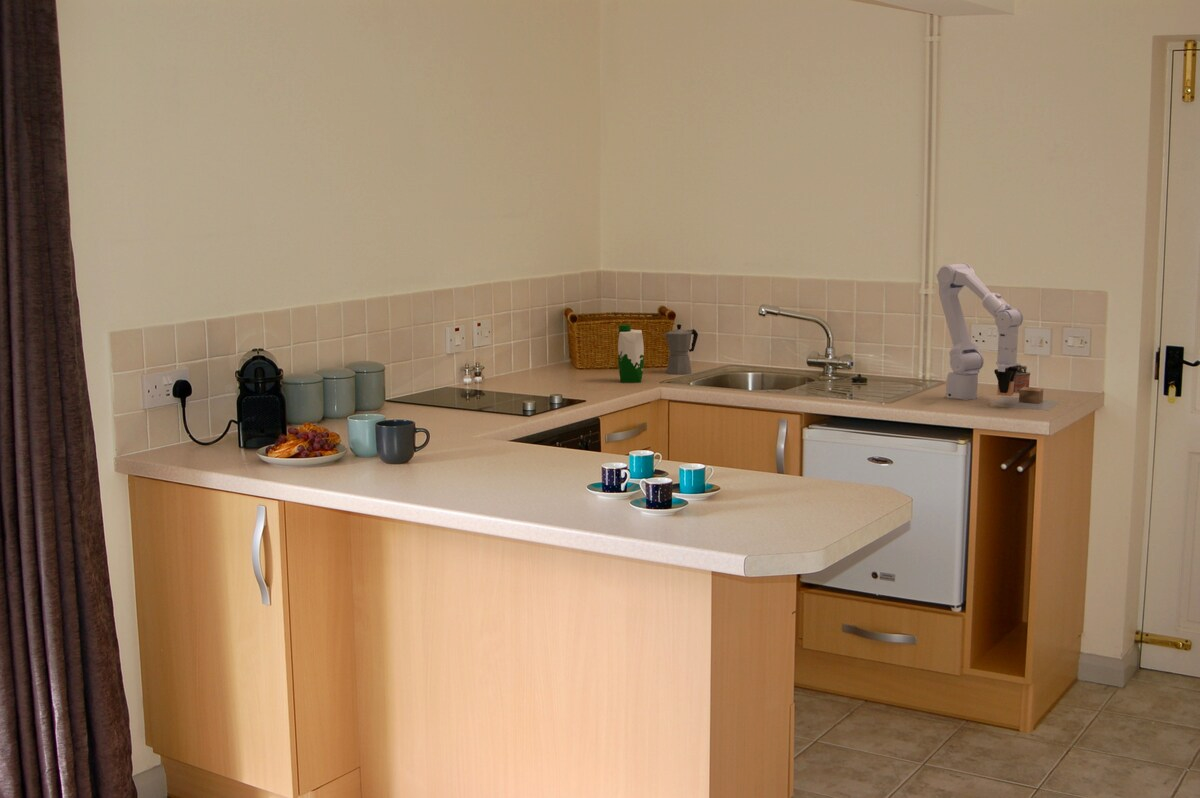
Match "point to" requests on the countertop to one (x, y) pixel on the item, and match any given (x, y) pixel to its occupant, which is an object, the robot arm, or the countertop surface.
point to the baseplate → (1024, 404)
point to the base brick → (1031, 395)
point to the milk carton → (630, 354)
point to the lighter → (1021, 378)
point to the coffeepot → (680, 350)
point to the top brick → (1010, 390)
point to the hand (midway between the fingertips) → (1005, 391)
